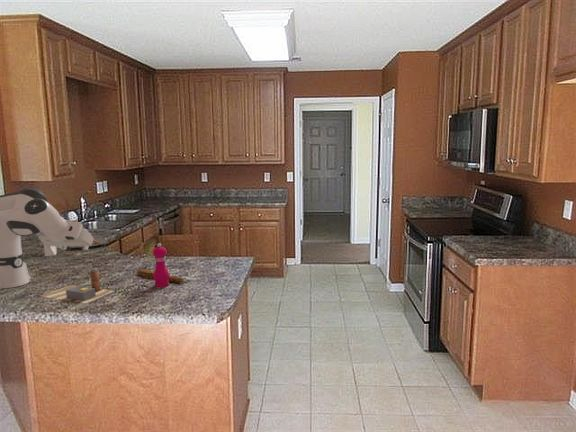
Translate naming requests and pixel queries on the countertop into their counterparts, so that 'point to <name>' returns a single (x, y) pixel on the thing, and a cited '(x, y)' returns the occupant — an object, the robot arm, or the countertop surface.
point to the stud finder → (80, 293)
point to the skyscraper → (50, 251)
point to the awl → (95, 278)
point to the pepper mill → (160, 267)
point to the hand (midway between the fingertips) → (75, 248)
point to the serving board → (96, 241)
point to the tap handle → (150, 273)
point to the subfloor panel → (62, 296)
